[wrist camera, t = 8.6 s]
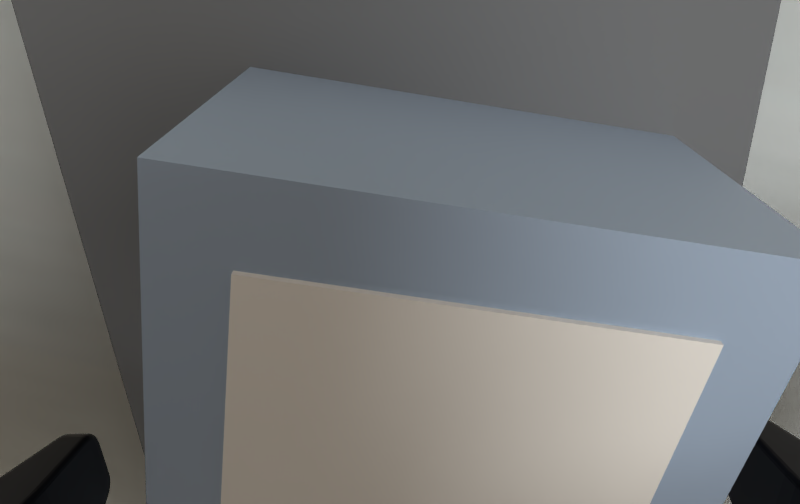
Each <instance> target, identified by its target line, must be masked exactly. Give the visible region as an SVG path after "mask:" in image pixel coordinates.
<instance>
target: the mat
mask: <svg viewBox="0 0 800 504" xmlns="http://www.w3.org/2000/svg"><path fill="white" fill-rule="evenodd" d="M11 1H12V4H13V8H14V11H15V15H16V18H17V21H18V25H19V28H20V32H21V35H22V38H23V42H24V45H25V49H26V52H27V56H28V59H29V62H30V66H31V69H32V73H33V76H34V79H35V83H36V86H37V90H38V93H39V97H40V100H41V103H42V107H43V110H44V114H45V117H46V120H47V124H48V127H49V131H50V134H51V137H52V141H53V144H54V148H55V151H56V155H57V158H58V161H59V165H60V168H61V172H62V175H63V178H64V182H65V185H66V189H67V192H68V196H69V199H70V202H71V206H72V209H73V213H74V216H75V219H76V223H77V226H78V230H79V233H80V236H81V240H82V243H83V247H84V250H85V254H86V257H87V260H88V264H89V267H90V271H91V274H92V277H93V281H94V284H95V288H96V291H97V295H98V298H99V301H100V305H101V308H102V312H103V315H104V318H105V322H106V325H107V329H108V332H109V336H110V339H111V342H112V346H113V349H114V353H115V356H116V359H117V363H118V366H119V370H120V373H121V376H122V380H123V383H124V387H125V390H126V394H127V397H128V400H129V404H130V407H131V411H132V414H133V417H134V421H135V424H136V428H137V431H138V435H139V438H140V441H141V445H142V448H143V452H144V455H145V437H144V400H143V362H142V325H141V288H140V250H139V213H138V175H137V157H138V156H139V155H140V154H142V153H143V152H144V151H145V150H147V149H148V148H149V147H150V146H152V145H153V144H154V143H155V142H157V141H158V140H159V139H160V138H162V137H163V136H164V135H165V134H167V133H168V132H169V131H170V130H172V129H173V128H174V127H176V126H177V125H178V124H179V123H181V122H182V121H183V120H184V119H186V118H187V117H188V116H189V115H191V114H192V113H193V112H194V111H196V110H197V109H198V108H199V107H201V106H202V105H203V104H204V103H206V102H207V101H208V100H209V99H211V98H212V97H213V96H214V95H216V94H217V93H218V92H219V91H221V90H222V89H223V88H224V87H226V86H227V85H228V84H229V83H231V82H232V81H233V80H234V79H236V78H237V77H238V76H239V75H241V74H242V73H243V72H244V71H246V70H247V69H248V68H249V67H255V68H261V69H267V70H273V71H279V72H285V73H291V74H297V75H303V76H310V77H316V78H322V79H328V80H334V81H340V82H346V83H352V84H359V85H365V86H371V87H377V88H383V89H389V90H395V91H401V92H407V93H414V94H420V95H426V96H432V97H438V98H444V99H450V100H456V101H463V102H469V103H475V104H481V105H487V106H493V107H499V108H505V109H512V110H518V111H524V112H530V113H536V114H542V115H548V116H554V117H560V118H567V119H573V120H579V121H585V122H591V123H597V124H603V125H609V126H616V127H622V128H628V129H634V130H640V131H646V132H652V133H658V134H665V135H671V136H675V137H676V138H677V139H679V140H680V141H681V142H683V143H684V144H685V145H687V146H688V147H689V148H691V149H692V150H693V151H695V152H696V153H698V154H699V155H700V156H702V157H703V158H704V159H706V160H707V161H708V162H710V163H711V164H712V165H714V166H715V167H716V168H718V169H719V170H720V171H722V172H723V173H725V174H726V175H727V176H729V177H730V178H731V179H733V180H734V181H735V182H737V183H738V184H739V185H741V186H742V185H743V180H744V176H745V171H746V166H747V161H748V156H749V152H750V147H751V142H752V137H753V133H754V128H755V123H756V118H757V113H758V109H759V104H760V99H761V94H762V89H763V85H764V80H765V75H766V70H767V66H768V61H769V56H770V51H771V46H772V42H773V37H774V32H775V27H776V22H777V18H778V13H779V8H780V3H781V0H11Z"/></svg>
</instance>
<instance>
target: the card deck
mask: <svg viewBox="0 0 800 504" xmlns="http://www.w3.org/2000/svg"><path fill="white" fill-rule="evenodd" d="M137 175H138V213H139V250H140V288H141V325H142V362H143V400H144V437H145V475H146V504H723V503H724V501H725V499H726V498H727V496H728V494H729V492H730V490H731V488H732V486H733V485H734V483H735V481H736V479H737V477H738V475H739V473H740V472H741V470H742V468H743V466H744V464H745V462H746V460H747V459H748V457H749V455H750V453H751V451H752V449H753V447H754V446H755V444H756V442H757V440H758V438H759V436H760V434H761V433H762V431H763V429H764V427H765V425H766V423H767V421H768V420H769V418H770V416H771V414H772V412H773V410H774V408H775V407H776V405H777V403H778V401H779V399H780V397H781V395H782V393H783V392H784V390H785V388H786V386H787V384H788V382H789V380H790V379H791V377H792V375H793V373H794V371H795V369H796V367H797V366H798V364H799V362H800V229H799V228H798V227H796V226H795V225H793V224H792V223H791V222H789V221H788V220H787V219H785V218H784V217H783V216H781V215H780V214H779V213H777V212H776V211H775V210H773V209H772V208H771V207H769V206H768V205H766V204H765V203H764V202H762V201H761V200H760V199H758V198H757V197H756V196H754V195H753V194H752V193H750V192H749V191H748V190H746V189H745V188H743V187H742V186H741V185H739V184H738V183H737V182H735V181H734V180H733V179H731V178H730V177H729V176H727V175H726V174H725V173H723V172H722V171H720V170H719V169H718V168H716V167H715V166H714V165H712V164H711V163H710V162H708V161H707V160H706V159H704V158H703V157H702V156H700V155H699V154H698V153H696V152H695V151H693V150H692V149H691V148H689V147H688V146H687V145H685V144H684V143H683V142H681V141H680V140H679V139H677V138H676V137H675V136H671V135H665V134H658V133H652V132H646V131H640V130H634V129H628V128H622V127H616V126H609V125H603V124H597V123H591V122H585V121H579V120H573V119H567V118H560V117H554V116H548V115H542V114H536V113H530V112H524V111H518V110H512V109H505V108H499V107H493V106H487V105H481V104H475V103H469V102H463V101H456V100H450V99H444V98H438V97H432V96H426V95H420V94H414V93H407V92H401V91H395V90H389V89H383V88H377V87H371V86H365V85H359V84H352V83H346V82H340V81H334V80H328V79H322V78H316V77H310V76H303V75H297V74H291V73H285V72H279V71H273V70H267V69H261V68H255V67H249V68H248V69H247V70H246V71H244V72H243V73H242V74H241V75H239V76H238V77H237V78H236V79H234V80H233V81H232V82H231V83H229V84H228V85H227V86H226V87H224V88H223V89H222V90H221V91H219V92H218V93H217V94H216V95H214V96H213V97H212V98H211V99H209V100H208V101H207V102H206V103H204V104H203V105H202V106H201V107H199V108H198V109H197V110H196V111H194V112H193V113H192V114H191V115H189V116H188V117H187V118H186V119H184V120H183V121H182V122H181V123H179V124H178V125H177V126H176V127H174V128H173V129H172V130H170V131H169V132H168V133H167V134H165V135H164V136H163V137H162V138H160V139H159V140H158V141H157V142H155V143H154V144H153V145H152V146H150V147H149V148H148V149H147V150H145V151H144V152H143V153H142V154H140V155H139V156H138V157H137Z"/></svg>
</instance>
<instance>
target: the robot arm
mask: <svg viewBox="0 0 800 504" xmlns="http://www.w3.org/2000/svg"><path fill="white" fill-rule="evenodd" d="M109 489H110V476H109V472H108V469H107V466H106V463H105V460H104V457H103V454H102V451H101V448H100V445H99V442H98V440H97V438H96V437H95V436H94V435H92V434H67V435H63V436H61V437H59V438H58V439H56V440H55V441H53V442H52V443H50V444H49V445H47V446H46V447H44V448H43V449H42V450H40V451H39V452H37V453H36V454H34V455H33V456H31V457H30V458H28V459H27V460H25V461H24V462H22V463H21V464H19V465H18V466H16V467H15V468H14V469H12V470H11V471H9V472H8V473H6V474H5V475H3V476H2V477H0V504H105V503H106V500H107V497H108V493H109ZM728 495H729V497H730V500H731V503H732V504H800V439H798V438H797V437H795V436H794V435H792V434H790V433H789V432H787V431H785V430H784V429H782V428H781V427H779V426H777V425H776V424H774V423H773V422H771V421H769V420H768V421H767V423H766V425H765V427H764V429H763V431H762V433H761V434H760V436H759V438H758V440H757V442H756V444H755V446H754V447H753V449H752V451H751V453H750V455H749V457H748V459H747V460H746V462H745V464H744V466H743V468H742V470H741V472H740V473H739V475H738V477H737V479H736V481H735V483H734V485H733V486H732V488H731V490H730V492H729V494H728Z"/></svg>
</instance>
